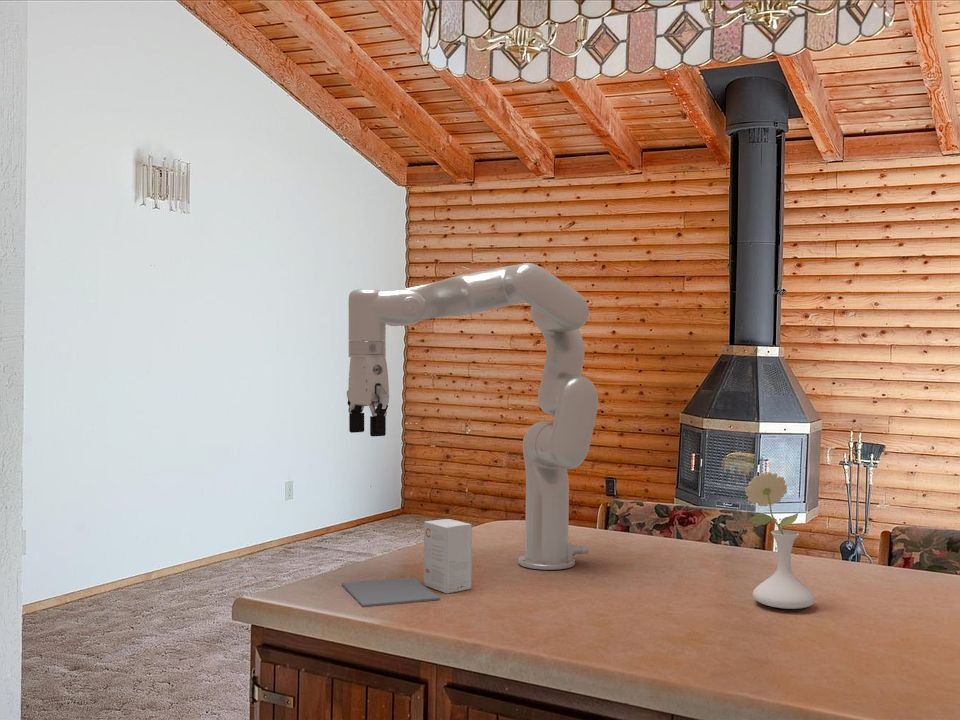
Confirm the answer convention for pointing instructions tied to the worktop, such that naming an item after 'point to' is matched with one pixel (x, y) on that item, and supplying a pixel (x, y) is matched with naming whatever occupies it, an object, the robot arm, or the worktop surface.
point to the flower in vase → (783, 583)
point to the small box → (447, 555)
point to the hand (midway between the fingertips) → (367, 434)
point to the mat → (389, 592)
